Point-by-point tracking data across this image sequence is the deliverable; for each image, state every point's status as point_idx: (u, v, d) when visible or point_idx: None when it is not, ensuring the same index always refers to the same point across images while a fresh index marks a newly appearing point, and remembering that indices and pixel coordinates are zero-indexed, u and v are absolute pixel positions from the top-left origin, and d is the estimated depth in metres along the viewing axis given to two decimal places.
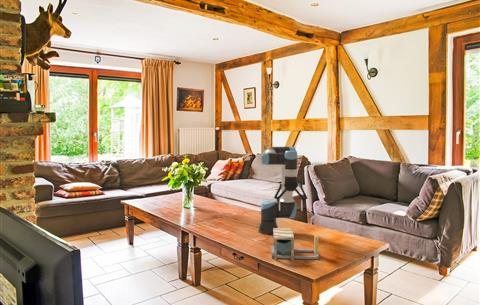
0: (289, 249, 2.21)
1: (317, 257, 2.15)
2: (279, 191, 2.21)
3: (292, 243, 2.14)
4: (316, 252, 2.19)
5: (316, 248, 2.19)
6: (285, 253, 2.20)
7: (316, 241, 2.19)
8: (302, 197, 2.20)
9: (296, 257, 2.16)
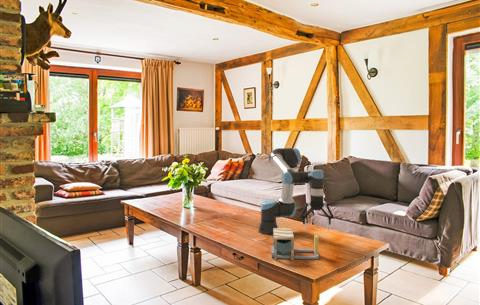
0: (289, 249, 2.21)
1: (317, 257, 2.15)
2: (305, 210, 2.19)
3: (292, 243, 2.14)
4: (316, 252, 2.19)
5: (316, 248, 2.19)
6: (285, 253, 2.20)
7: (316, 241, 2.19)
8: (328, 216, 2.19)
9: (296, 257, 2.16)
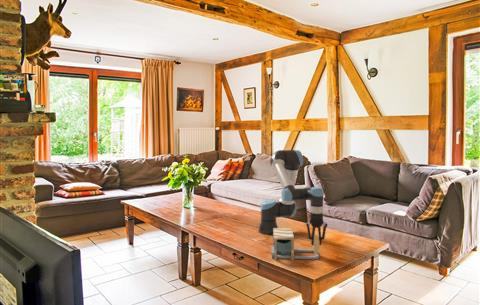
0: (289, 249, 2.21)
1: (317, 257, 2.15)
2: (309, 230, 2.20)
3: (292, 243, 2.14)
4: (316, 252, 2.19)
5: (316, 248, 2.19)
6: (285, 253, 2.20)
7: (316, 241, 2.19)
8: (320, 237, 2.20)
9: (296, 257, 2.16)
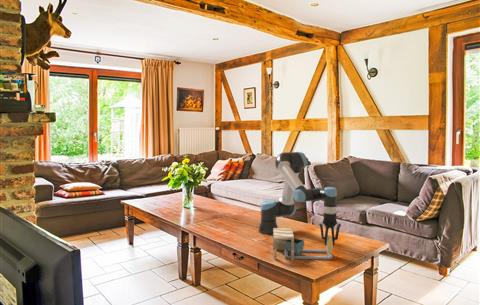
0: (301, 249, 2.22)
1: (331, 257, 2.15)
2: None
3: (292, 243, 2.14)
4: (329, 252, 2.19)
5: (329, 248, 2.19)
6: (298, 253, 2.20)
7: (329, 241, 2.18)
8: (333, 237, 2.19)
9: (309, 257, 2.16)
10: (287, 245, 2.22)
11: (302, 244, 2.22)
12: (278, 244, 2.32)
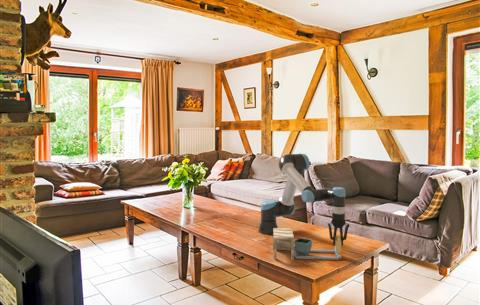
0: (309, 248, 2.22)
1: (339, 258, 2.14)
2: (331, 231, 2.19)
3: (292, 243, 2.14)
4: (338, 253, 2.18)
5: (338, 249, 2.18)
6: (307, 253, 2.20)
7: (338, 242, 2.18)
8: (342, 237, 2.19)
9: (318, 258, 2.15)
10: (296, 245, 2.21)
11: (310, 244, 2.22)
12: (278, 244, 2.32)
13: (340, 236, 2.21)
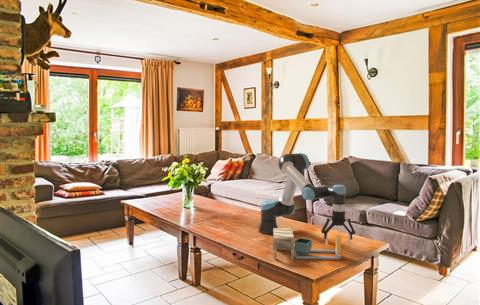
0: (309, 248, 2.22)
1: (339, 258, 2.14)
2: None
3: (292, 243, 2.14)
4: (338, 253, 2.18)
5: (338, 249, 2.18)
6: (307, 253, 2.20)
7: (338, 242, 2.18)
8: (350, 232, 2.18)
9: (318, 258, 2.15)
10: (296, 245, 2.21)
11: (310, 244, 2.23)
12: (278, 244, 2.32)
13: (348, 231, 2.20)
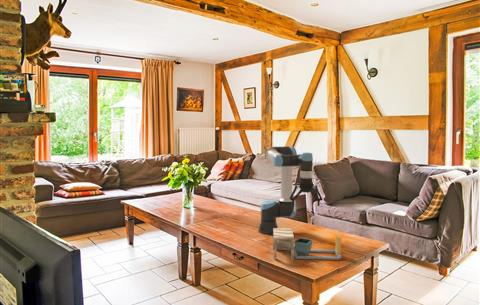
0: (309, 248, 2.22)
1: (339, 258, 2.14)
2: (294, 192, 2.23)
3: (292, 243, 2.14)
4: (338, 253, 2.18)
5: (338, 249, 2.18)
6: (307, 253, 2.20)
7: (338, 242, 2.18)
8: (317, 198, 2.23)
9: (318, 258, 2.15)
10: (296, 245, 2.21)
11: (310, 244, 2.23)
12: (278, 244, 2.32)
13: None
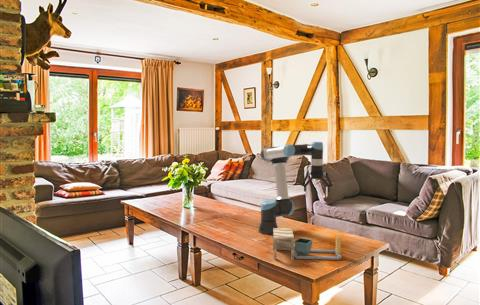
0: (309, 248, 2.22)
1: (339, 258, 2.14)
2: None
3: (292, 243, 2.14)
4: (338, 253, 2.18)
5: (338, 249, 2.18)
6: (307, 253, 2.20)
7: (338, 242, 2.18)
8: (327, 184, 2.39)
9: (318, 258, 2.15)
10: (296, 245, 2.21)
11: (310, 244, 2.23)
12: (278, 244, 2.32)
13: None
